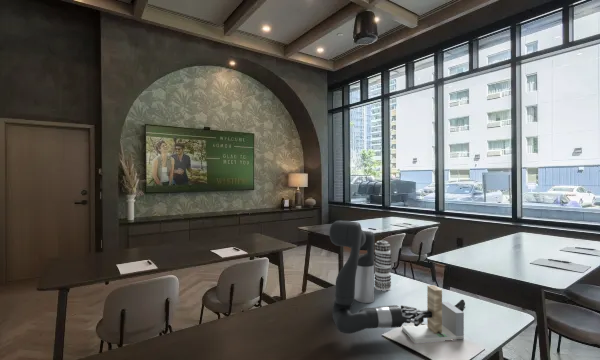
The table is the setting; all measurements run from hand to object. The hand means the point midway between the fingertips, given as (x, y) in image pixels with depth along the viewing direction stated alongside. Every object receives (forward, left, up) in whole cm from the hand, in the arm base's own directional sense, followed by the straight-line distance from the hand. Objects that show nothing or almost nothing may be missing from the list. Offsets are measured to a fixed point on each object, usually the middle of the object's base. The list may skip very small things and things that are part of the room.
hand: (430, 313), depth 120 cm
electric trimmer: (+1, +29, -8) cm, 30 cm away
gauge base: (0, 0, -8) cm, 8 cm away
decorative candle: (-38, +33, -8) cm, 51 cm away
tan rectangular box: (+2, 0, -6) cm, 7 cm away
